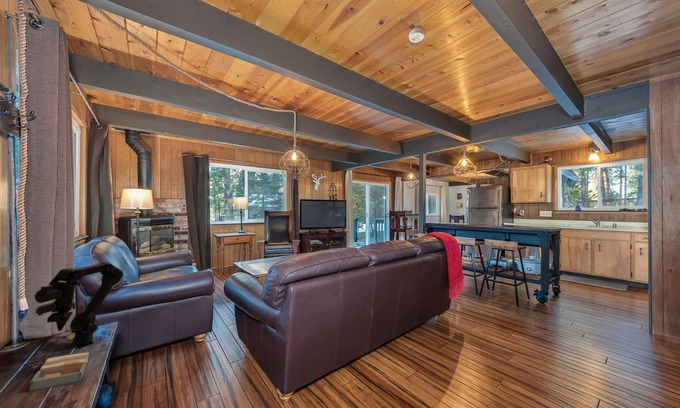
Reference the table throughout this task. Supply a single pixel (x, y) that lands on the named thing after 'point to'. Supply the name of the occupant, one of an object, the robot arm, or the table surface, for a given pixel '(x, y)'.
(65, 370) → the tile
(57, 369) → the shallow cream tray
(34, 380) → the tray
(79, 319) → the robot arm
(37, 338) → the table surface
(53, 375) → the tile
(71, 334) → the hand bell
